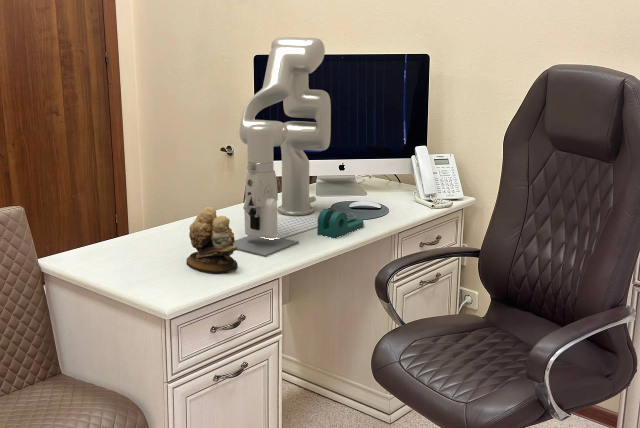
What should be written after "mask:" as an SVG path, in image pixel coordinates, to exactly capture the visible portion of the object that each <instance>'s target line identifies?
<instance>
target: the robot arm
mask: <svg viewBox="0 0 640 428" xmlns="http://www.w3.org/2000/svg"><path fill="white" fill-rule="evenodd" d="M270 49H271V50H270V51H269V54H268V58H267V65H266V70H265V75H264V79H263V84H262V88H261V89H260V90H259V91H257V92H256V93H254V95H253V96H252V97H251V98H249V101H247V103H246V105H245V106H244V108H243V111H242V114H241V119H240V123H239V133H238V134H239V138H240V141H241V142H242V143H243V144H245V145H247V147H246V149H247V151H246V152H247V174H246V179H245V189H244V190H245V191H244V193H245V194H244V195H245V197H244V202H245V200H246V202H245V204H243V210H245V211H247V213H248V214H249V216H250V228H251V229H254V230H260V217H258V214H259V208H261V207H264V206H265V203H266V201H267V199H268V198H269V199H270V198H273V199H275V200H276V202H277V201H278V200H279V199H278V193H279V191H278V181H277V176H276V175H277V174H276V170H274V167H275V166H274V147H280V151H281V152H280V153H281V205H279V206H277V213H279V214H280V215H281V214H282V215H283V216H284V215H286V216H292V215H293V217H296V216H297V217H298V215H299V216H306V215H310V214H312V213H314V207H313V206H312V205H311V203H314V202H316V200H317V199H316V198H317V197H316V196H310V160H309V158H308V156H307V154H306V153H305V152H304V151H305V150H306V151H326V150H327V149H328V148H329V147H330V144H331V125H332V124H331V123H332V122H331V115H332V113H331V112H332V111H331V110H332V109H331V105H332V104H331V98H330V94H329V93H328V92H327V91H325V90H323V89H310V87H309V74H312V73H313V72H314V71H316V70H317V68H318V67H320V65H321V64H322V62H323V61H324V58H325V54H326V53H325V52H326V51H325V50H326V49H325V44H324V42H323V41H322V39H320V38H317V37H297V36H296V37H294V36H293V37H292V36H289V37H288V36H286V37H277V38H274V39H273V40H272V41H271V46H270ZM282 101H283V102H282ZM280 102H282V103H283V104H282V105H283V112H284V114H285V115H286V116H287V117H290V118H300V119H302V118H303V119H314V121H301V120H300V121H297V120H291V121H290V120H289V121H286V122H282V121H280V120H279V121H278V120H267V119H266V120H265V119H255V118H256V116H257V114H258V113H259V112H261V111H263V109H265V108H267V107H270V106H273V105H274V104H277V103H280ZM315 121H316V122H315ZM277 203H278V202H277ZM253 205H254V206H253ZM253 208H255V211H254V210H253Z"/></svg>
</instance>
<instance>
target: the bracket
mask: <svg viewBox="0 0 640 428" xmlns="http://www.w3.org/2000/svg"><path fill="white" fill-rule="evenodd" d="M362 227H363V228H364V219H362V218H360V217H348V215H347V214H346V213H345V212H342V211H338V210H336V211H334V210H333V209H328V208H323V209H322V210H321V211H320V212H319V214H318V217H317V228H316V229H317V233H316V234H317V236H321V235H322V237H325V236H327V237H326V238H329V237H331V238H330V239H334V238H335V239H338V238H340V237H339V236H341V237H342V235H343V236H346V235H348V234H350V233H349V232H351V233H353V232H356V231H358V230H357V229H359V230H361V229H363V228H362ZM360 228H361V229H360ZM355 230H356V231H355ZM352 231H353V232H352ZM347 233H348V234H347ZM345 234H346V235H345ZM337 237H338V238H337Z"/></svg>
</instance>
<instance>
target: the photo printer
mask: <svg viewBox="0 0 640 428" xmlns="http://www.w3.org/2000/svg"><path fill="white" fill-rule="evenodd" d="M245 202H246V200H245V199H244V204H245ZM244 204H243V205H244ZM253 206H254V205H253ZM243 210H244V209H243ZM253 210H254V211H255V208H253ZM243 214H244V234H245V235H246V236H249V235H251V236H258V237H265V238H276V237H278V234H279V233H278V232H279V230H278V202H276V200H275V199H273V198H270V199H269V198H268V199H267V201H266V203H265V206H264V207H261V208H259V214H258V217H260V230H254V229H251V228H250V216H249V214H248V213H247V211H245V210H244V213H243Z"/></svg>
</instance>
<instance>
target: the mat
mask: <svg viewBox="0 0 640 428" xmlns="http://www.w3.org/2000/svg"><path fill="white" fill-rule="evenodd" d="M299 243H300V241H297V240H293V239H288V238H283V237H280V239H274V240H269V239H264V238H260V237H258V236H251V235H246V236H243V237H242V238H238V239H235V242H234V243H233V246H237V250H236V251H239V252H243V253H246V254H247V253H248V254H252V255H255V256H260V257H263V258H266V257H269V256H271V255H273V254H277V253H279V252H281V251H284V250H286V249H289V248H291V247H294V246H296V245H298V244H299Z"/></svg>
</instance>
